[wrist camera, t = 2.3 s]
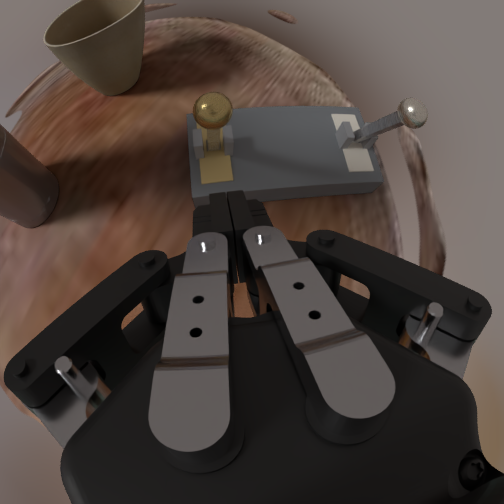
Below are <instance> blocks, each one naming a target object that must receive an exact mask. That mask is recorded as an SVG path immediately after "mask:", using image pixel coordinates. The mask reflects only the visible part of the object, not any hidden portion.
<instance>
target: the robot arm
mask: <svg viewBox="0 0 504 504" xmlns="http://www.w3.org/2000/svg"><path fill="white" fill-rule="evenodd" d="M58 192H59V186H58V181H57V179H56V177H55V175H54V174H53V173H52V172H50V171H49V170H48V169H47V168H46V167H45V166H44V165H43V164H42V163H41V162H40V161H38V160H37V159H36V158H35V157H34V156H33V155H32V154H31V153H30V152H29V151H28V150H27V149H26V148H24V147H23V146H22V145H21V144H20V143H19V142H18V141H17V140H16V139H15V138H14V137H13V136H12V135H11V134H10V133H9V132H8V131H7V130H6V129H5V128H4V127H3V126H2V125H0V215H1V216H3V217H5V218H7V219H9V220H11V221H13V222H15V223H17V224H19V225H21V226H23V227H26V228H33V227H36V226H38V225H40V224H42V223H43V222H44V221H45V220H46V219H47V218H48V217H49V215H50V214H51V212H52V211H53V209H54V207H55V204H56V202H57V198H58ZM209 200H210V204H208V205H200V206H198V207H197V208H196V209H195V210H194V211H193V237H192V238H191V239H190V240H189V242H188V244H187V250H186V252H184V253H183V254H181V255H178V256H176V257H173V258H170V259H168V258H167V255H166V254H165V253H164V252H162V251H158V250H149V251H145V252H142V253H139V254H138V255H136V256H134V257H133V258H132V259H130V260H129V261H128V262H126V263H125V264H124V265H122V266H121V267H120V268H119V269H117V270H116V271H115V272H113V273H112V274H111V275H110V276H108V277H107V278H106V279H104V280H103V281H102V282H101V283H99V284H98V285H97V286H96V287H94V288H93V289H92V290H91V291H89V292H88V293H87V294H86V295H84V296H83V297H82V298H81V299H79V300H78V301H77V302H76V303H75V304H73V305H72V306H71V307H70V308H69V309H67V310H66V311H65V312H64V313H63V314H61V315H60V316H59V317H58V318H57V319H55V320H54V321H53V322H52V323H51V324H50V325H49V326H47V327H46V328H45V329H44V330H43V331H42V332H40V333H39V334H38V335H37V336H36V337H35V338H34V339H33V340H31V341H30V342H29V343H28V344H27V345H26V346H25V347H24V348H23V349H22V350H20V351H19V352H18V353H17V354H16V355H15V356H14V357H13V358H12V359H11V360H10V361H9V363H8V364H7V366H6V368H5V372H4V382H5V384H6V386H7V387H8V388H9V389H10V390H11V391H12V392H13V393H14V394H15V395H16V396H17V397H18V398H19V399H20V400H21V402H22V403H23V404H24V405H25V406H26V407H27V408H28V409H29V410H30V411H31V412H32V413H33V414H35V415H36V416H37V417H38V418H39V419H40V420H41V422H42V423H43V424H44V426H45V427H46V428H47V429H48V431H49V432H50V433H51V434H52V436H53V437H54V438H55V439H56V440H57V441H58V443H59V444H60V445H61V446H62V448H63V449H64V450H63V453H62V457H61V467H60V470H61V477H62V481H63V485H64V487H65V490H66V492H67V494H68V496H69V499H70V501H71V503H72V504H504V473H502V472H500V471H498V470H497V469H495V468H494V467H493V466H491V465H490V464H489V462H488V461H487V460H486V459H485V457H484V455H483V453H482V450H481V446H480V441H479V435H478V426H477V406H476V402H475V398H474V396H473V393H472V392H471V390H470V388H469V387H468V385H467V384H466V383H465V382H464V381H463V380H462V379H463V376H464V373H465V369H466V366H467V363H468V359H469V356H470V352H471V348H472V345H473V344H474V343H475V341H476V340H477V338H478V336H479V335H480V333H481V332H482V330H483V328H484V327H485V325H486V324H487V322H488V320H489V318H490V317H491V314H492V309H491V306H490V304H489V302H488V301H487V299H486V298H485V297H483V296H482V295H481V294H479V293H478V292H475V291H473V290H471V289H469V288H467V287H465V286H463V285H460V284H458V283H456V282H454V281H452V280H449V279H447V278H445V277H443V276H441V275H438V274H436V273H434V272H432V271H429V270H427V269H425V268H423V267H420V266H418V265H416V264H413V263H411V262H409V261H406V260H404V259H402V258H399V257H397V256H394V255H392V254H390V253H387V252H385V251H382V250H380V249H377V248H375V247H373V246H370V245H368V244H365V243H363V242H360V241H358V240H355V239H353V238H350V237H347V236H345V235H342V234H340V233H337V232H334V231H330V230H317V231H313V232H311V233H310V234H309V235H308V236H307V238H306V242H299V241H291V240H287V239H286V238H285V237H284V235H283V233H282V232H281V231H280V230H279V229H277V228H274V227H273V225H272V223H271V221H270V218H269V216H268V215H267V212H266V210H265V207H264V205H263V203H261V202H260V201H258V200H257V199H252V200H246V197H245V194H244V192H243V190H236V191H227V198H226V193H225V192H219V193H211V194H209ZM236 266H237V267H236ZM237 271H238V276H239V281H240V283H243V282H246V285H247V296H248V300H249V303H250V306H251V309H252V312H253V315H254V317H252V318H240V317H235V311H234V296H233V293H234V284H236V283H238V277H237ZM341 274H343V275H345V276H347V277H349V278H351V279H354V280H356V281H358V282H360V283H362V284H364V285H365V286H366V287H367V288H368V289H369V291H370V298H369V299H367V298H365V297H363V296H361V295H359V294H357V293H355V292H353V291H351V290H348V289H346V288H344V287H342V286H340V285H339V284H340V279H341ZM140 302H141V304H142V306H143V309H144V310H143V311H142V312H141V313H140V314H139V315H138V316H137V317H136V318H134V319H133V320H132V321H131V322H130V323H129V324H128V325H127V326H126V327H125V328H124V329H123V330H122V329H121V324H122V321H123V319H124V317H125V316H126V315H127V314H128V313H129V312H130V311H131V310H133V309H134V308H135V307H136V306H137V305H138V304H139V303H140Z"/></svg>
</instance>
